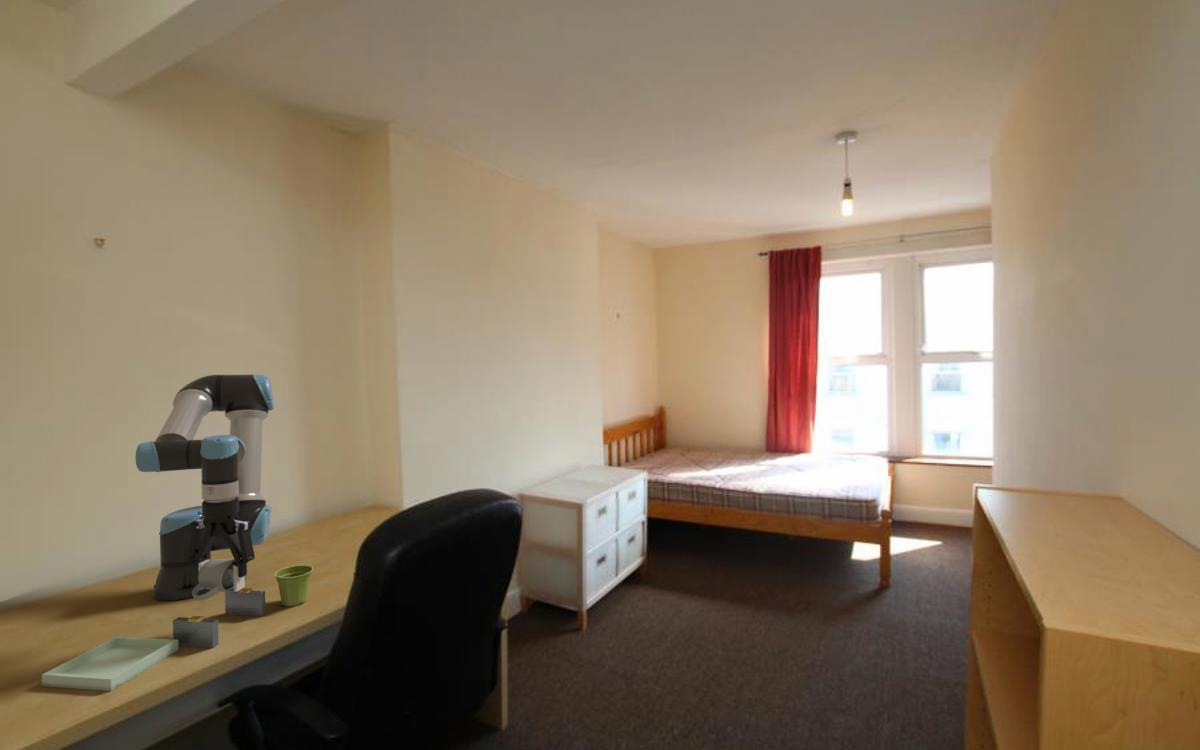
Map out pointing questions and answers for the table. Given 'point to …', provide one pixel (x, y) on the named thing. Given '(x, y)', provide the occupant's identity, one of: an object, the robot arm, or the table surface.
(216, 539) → the robot arm
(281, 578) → the plant pot
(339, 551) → the table surface
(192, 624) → the grey cases
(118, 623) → the table surface
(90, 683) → the tray
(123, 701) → the table surface
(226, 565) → the ceramic mug
